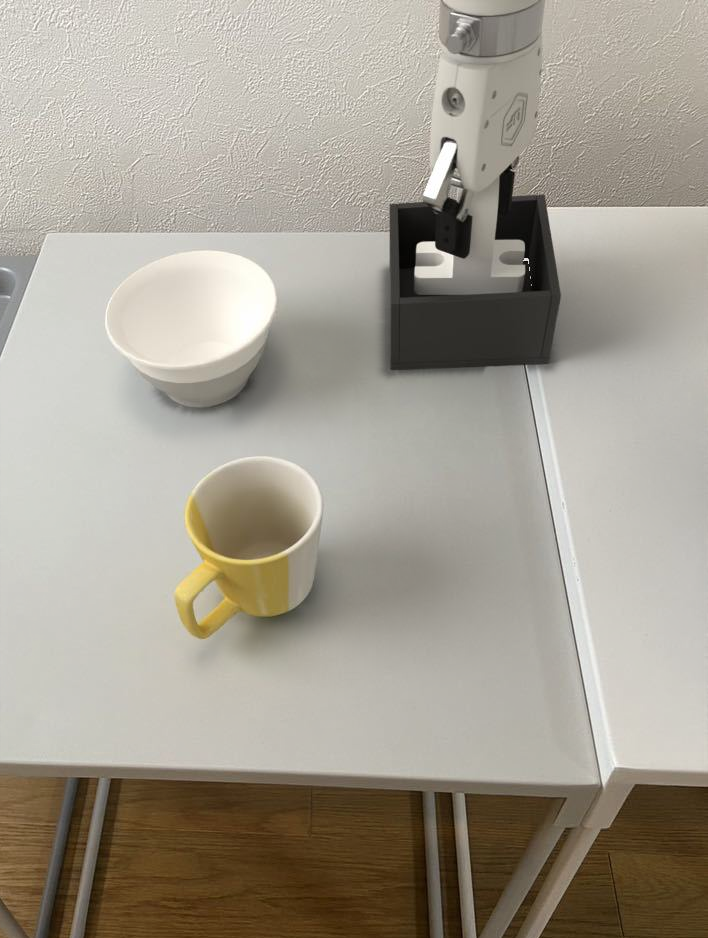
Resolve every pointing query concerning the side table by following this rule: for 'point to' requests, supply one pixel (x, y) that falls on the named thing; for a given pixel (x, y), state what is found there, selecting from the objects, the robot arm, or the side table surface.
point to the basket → (473, 297)
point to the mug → (251, 540)
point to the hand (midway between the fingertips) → (473, 228)
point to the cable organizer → (473, 256)
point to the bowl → (194, 323)
